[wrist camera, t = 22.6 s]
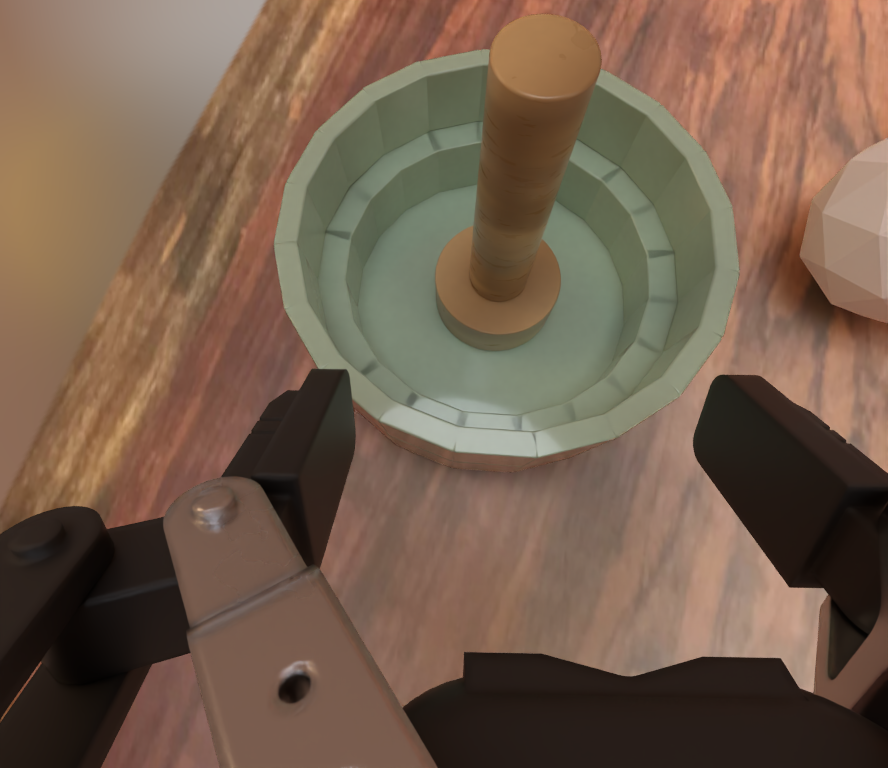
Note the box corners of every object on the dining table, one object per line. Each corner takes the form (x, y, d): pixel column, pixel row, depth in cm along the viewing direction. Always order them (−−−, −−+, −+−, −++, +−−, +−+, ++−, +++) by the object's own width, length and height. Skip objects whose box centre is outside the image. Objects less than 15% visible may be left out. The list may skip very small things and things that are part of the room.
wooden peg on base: (412, 304, 21) (372, 67, 10) (484, 227, 22) (523, -68, 11) (502, 374, 20) (574, 202, 9) (573, 290, 21) (717, 41, 10)
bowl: (252, 322, 21) (179, 250, 15) (466, 112, 24) (472, -12, 19) (519, 552, 18) (553, 572, 13) (722, 283, 22) (823, 200, 16)
